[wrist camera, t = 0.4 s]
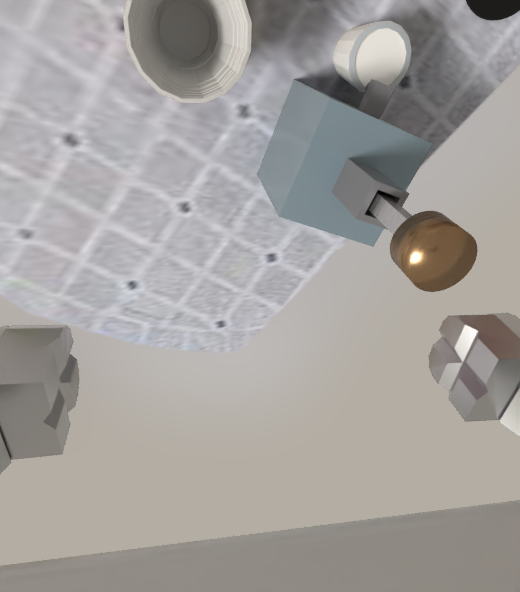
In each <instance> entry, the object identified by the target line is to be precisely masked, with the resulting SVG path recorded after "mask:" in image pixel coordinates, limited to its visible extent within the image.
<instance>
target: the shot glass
mask: <svg viewBox="0 0 520 592" xmlns="http://www.w3.org/2000/svg"><path fill="white" fill-rule="evenodd" d="M411 52H412V49H411V44H410V39H409V36H408V34H407V33H406V32H405V30H404V29H403V27H402V26H401V25H399V24H396V23H394V22H392V21H378V22H374V23H370V24H366V25H362V26H358V27H354V28H352V29H350V30H349V31H347V32H345V33H344V34H343V36H342V37H341V38H340V39H339V41H338V43H337V45H336V48H335V51H334V65H335V68H336V71H337V73H338V74H339V75H340V76H341V77H342V78H343V79H344V80H345V81H347V82H348V83H349V84H351V85H352V86H353V87H355V88H356V89H357V90H359V91H360V92H362V93H365V92H366V91H365V88H366V85H367V84H368V83H369V82H370V81H371V79H373V80H377V81H379V82H381V83H383V84H385V85H387V86H390V87H392V88H395V87H396V86H397V85H398V84H399V83H400V82H401V80H402V79H403V78H404V76H405V74H406V72H407V70H408V67H409V65H410V59H411Z"/></svg>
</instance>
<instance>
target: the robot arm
mask: <svg viewBox="0 0 520 592" xmlns="http://www.w3.org/2000/svg"><path fill="white" fill-rule="evenodd" d="M439 331H440V334H441V336H442V338H440V339H439V340H438V341H437V342H436V343H435V344H433V346H432V349H431V352H430V355H429V368H430V371H431V373H432V376H433V377H434V379H435V380H436V382H437V383H438V384H439V385H441V386H442V387H444V388H445V389H447V390H449V400H450V401H451V403H452V404H453V405H454V407H455V408H456V409H457V411H458V412H459V414H460V415H461V416H462V418H463V419H464V420H465V421H486V420H500V421H499V422H500V423H502V424H503V425H505V426H506V427H507V428H509V429H510V430H511V431H513V432H514V433H516V434H517V435H518V436H520V319H519V318H518V317H516V316H515V315H512V314H509V313H496V314H487V315H462V316H461V315H459V316H448V317H447V318H446V319H445V320H444V321H443V322H442V325H441V327H440V329H439ZM72 345H73V338H72V334H71V330H70V328H69V327H68V326H67V325H15V326H14V325H13V326H0V474H1V473H2V472H3V471H4V470H5V469H6V468H7V467H8V465H9V464H10V463H11V460H13V459H23V458H33V457H42V456H51V455H60V454H63V450H64V445H65V442H66V439H67V435H68V431H69V428H70V421H69V417H68V412H69V411H70V410H71V409H72V408H74V407H75V405H76V401H77V396H78V389H79V369H78V363H77V359H76V358H74V357H73V356H72V355H71V354H70V352H71V348H72ZM0 592H520V500H518V501H509V502H501V503H494V504H486V505H478V506H471V507H462V508H455V509H446V510H438V511H431V512H423V513H415V514H407V515H399V516H392V517H383V518H375V519H368V520H360V521H352V522H344V523H336V524H328V525H320V526H312V527H304V528H297V529H288V530H281V531H273V532H265V533H257V534H249V535H241V536H234V537H225V538H217V539H209V540H202V541H193V542H186V543H178V544H170V545H162V546H154V547H146V548H138V549H130V550H122V551H115V552H107V553H99V554H91V555H83V556H75V557H68V558H59V559H51V560H43V561H35V562H27V563H20V564H11V565H3V566H0Z"/></svg>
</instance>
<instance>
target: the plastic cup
mask: <svg viewBox="0 0 520 592" xmlns="http://www.w3.org/2000/svg"><path fill="white" fill-rule="evenodd" d="M123 20H124V28H125V37H126V45H127V49H128V51H129V53H130V55H131V57H132V59H133V61H134V63H135V65H136V67H137V69H138V71H139V73H140V74H141V75H142V76H143V77H144V78H145V79H146V80H147V81H148V82H149V83H150V84H151V85H152V86H153V87H154V88H155V89H156V90H157V91H158V92H159V93H161V94H163V95H165V96H167V97H170V98H172V99H174V100H176V101H179V102H181V103H205V102H208V101H210V100H212V99H214V98H217V97H219V96H221V95H223V94H225V93H226V92H227V91H228V90H229V89H230V88H231V87H232V86H233V85H234V83H235V82H236V81H237V80H238V79H239V78H240V77H241V76H242V73H243V71H244V68H245V65H246V63H247V60H248V57H249V55H250V52H251V31H252V22H251V19H250V15H249V12H248V9H247V5H246V2H245V0H127V2H126V6H125V10H124V14H123Z"/></svg>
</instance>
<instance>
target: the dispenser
mask: <svg viewBox="0 0 520 592" xmlns="http://www.w3.org/2000/svg"><path fill="white" fill-rule="evenodd" d="M365 91H366V92H365V94H364V96H363V98H362V100H361V103H360V105H359V107H358V108H357V107H354V106H352V105H350V104H348V103H346V102H343V101H341V100H339V99H337V98H335V97H332V96H330V95H328V94H326V93H323V92H321V91H319V90H317V89H315V88H312V87H310V86H308V85H306V84H303V83H301V82H299V81H297V80H295V79H294V81H293V84H292V86H291V89H290V92H289V94H288V97H287V99H286V102H285V105H284V107H283V110H282V112H281V115H280V117H279V120H278V123H277V125H276V128H275V130H274V133H273V136H272V138H271V141H270V143H269V146H268V149H267V151H266V154H265V156H264V159H263V161H262V164H261V167H260V169H259V172H258V174H257V175H258V177H259V179H260V181H261V183H262V185H263V187H264V189H265V190H266V192H267V194H268V196H269V198H270V200H271V202H272V204H273V206H274V208H275V210H276V212H277V214H278V216H279V217H282V218H286V219H289V220H292V221H295V222H298V223H301V224H304V225H307V226H311V227H314V228H317V229H320V230H323V231H326V232H329V233H332V234H336V235H339V236H342V237H345V238H348V239H351V240H354V241H357V242H361V243H364V244H367V245H370V246H374V245H375V243H376V241H377V240H378V238H379V236H380V234H381V233H382V231H383V229H387V228H386V227H385V226H384V225H383V224H382V223H381V222H380V221H379V220H378V219H377V218H376V217H375V216H374V215H373V214H372V213H371V212H370V211H369V210H368V207H369V205H370V203H371V202H372V200H373V198H374V196H375V194H376V193H379V194H382V195H384V196H387V197H390V198H392V199H393V200H394V201H395V202H396V203H398V204H399V205H400V206H401V207H402V206H403V204H404V202H405V200H406V199H407V197H408V195H409V193H408V192H406V189H407V187H408V186H409V184H410V182H411V180H412V179H413V177H414V176H415V174H416V172H417V170H418V169H419V167H420V165H421V163H422V162H423V160H424V158H425V156H426V155H427V153H428V151H429V150H430V148H431V146H432V143H430V142H428V141H426V140H424V139H422V138H420V137H418V136H416V135H414V134H411V133H409V132H407V131H405V130H403V129H401V128H399V127H397V126H395V125H393V124H391V123H389V122H387V121H385V120H383V119H381V118H380V117H381V115H382V113H383V111H384V109H385V107H386V105H387V103H388V101H389V99H390V97H391V95H392V93H393V91H394V88H392V87H390V86H387V85H385V84H383V83H381V82H379V81H377V80H373V79H371V81H370V82H369V83H368V84H367V85H366V88H365ZM387 230H388V229H387Z"/></svg>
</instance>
